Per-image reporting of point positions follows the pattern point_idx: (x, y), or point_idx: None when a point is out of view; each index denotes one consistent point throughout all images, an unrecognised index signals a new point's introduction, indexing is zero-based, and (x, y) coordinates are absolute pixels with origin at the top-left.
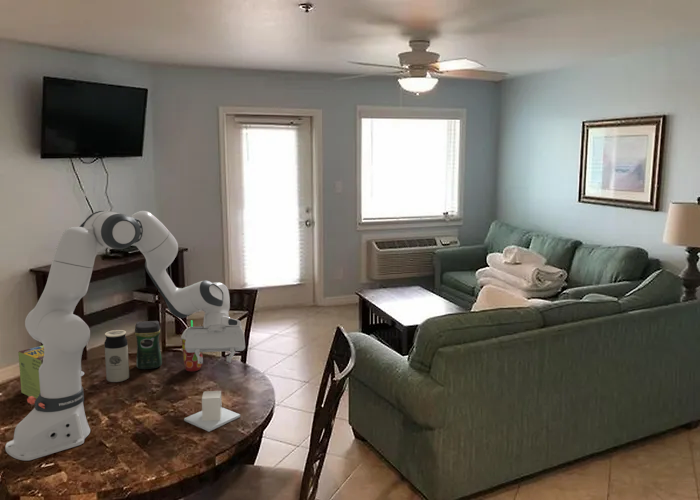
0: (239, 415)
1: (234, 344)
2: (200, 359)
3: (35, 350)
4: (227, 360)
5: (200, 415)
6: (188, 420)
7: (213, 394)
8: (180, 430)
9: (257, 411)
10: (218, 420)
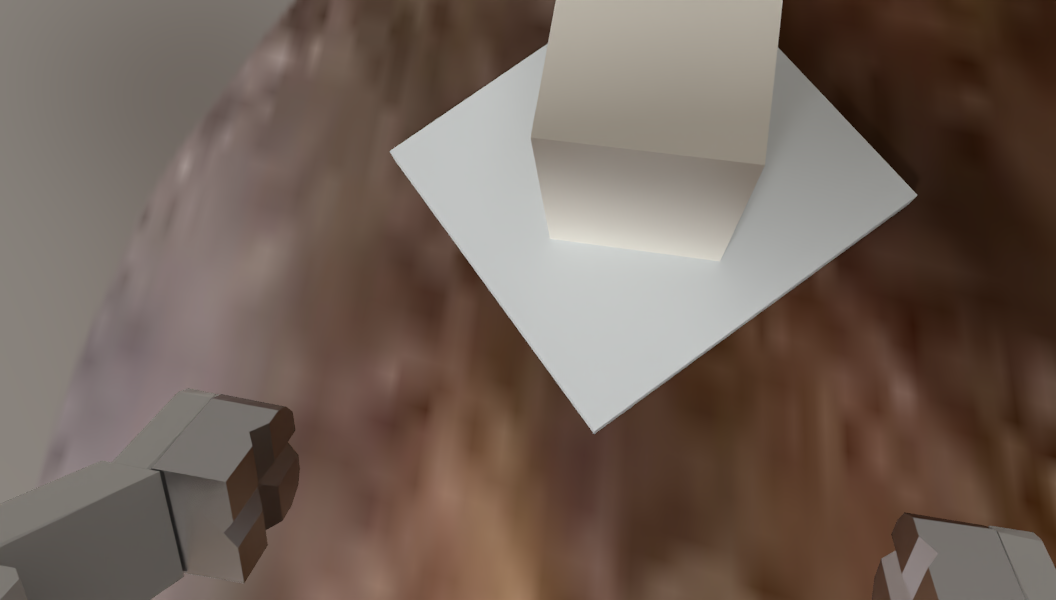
0: (399, 146)
1: None
2: (978, 559)
3: None
4: (263, 406)
5: (757, 218)
6: (870, 148)
7: (638, 42)
8: (926, 32)
9: (228, 232)
10: None
